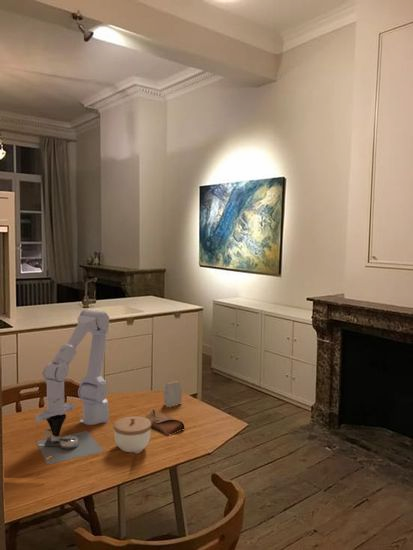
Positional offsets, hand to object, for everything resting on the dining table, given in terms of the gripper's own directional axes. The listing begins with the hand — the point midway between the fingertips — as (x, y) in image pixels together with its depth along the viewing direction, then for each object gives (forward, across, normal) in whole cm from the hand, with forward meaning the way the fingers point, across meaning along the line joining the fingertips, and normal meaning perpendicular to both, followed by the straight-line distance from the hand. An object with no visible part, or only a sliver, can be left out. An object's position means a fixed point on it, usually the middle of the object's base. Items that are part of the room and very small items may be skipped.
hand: (55, 435), depth 157 cm
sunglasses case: (+4, +33, -20) cm, 39 cm away
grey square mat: (+3, 0, -7) cm, 8 cm away
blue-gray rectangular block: (+3, +53, -10) cm, 54 cm away
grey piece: (+2, -1, -5) cm, 5 cm away
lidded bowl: (+3, +13, -24) cm, 28 cm away
